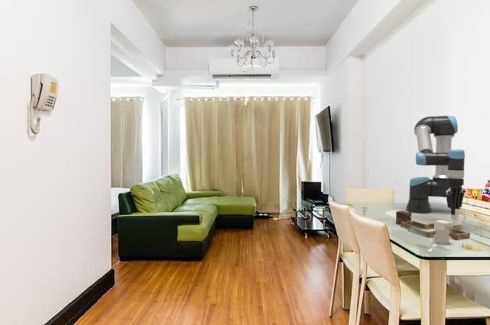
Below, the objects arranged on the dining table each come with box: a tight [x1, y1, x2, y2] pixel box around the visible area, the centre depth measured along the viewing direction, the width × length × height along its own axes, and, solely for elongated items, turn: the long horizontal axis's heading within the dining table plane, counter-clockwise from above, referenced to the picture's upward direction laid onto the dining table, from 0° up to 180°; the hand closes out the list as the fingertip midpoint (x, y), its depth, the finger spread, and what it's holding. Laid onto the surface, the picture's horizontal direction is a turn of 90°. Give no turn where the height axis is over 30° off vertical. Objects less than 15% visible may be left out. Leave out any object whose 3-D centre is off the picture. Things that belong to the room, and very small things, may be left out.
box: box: [395, 210, 413, 225], centre depth 184 cm, size 6×6×7 cm
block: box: [433, 219, 454, 232], centre depth 170 cm, size 6×6×5 cm
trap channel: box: [399, 220, 471, 241], centre depth 168 cm, size 23×28×2 cm
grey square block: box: [433, 229, 453, 245], centre depth 150 cm, size 3×7×7 cm, turn 72°
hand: (454, 220), depth 172 cm, fingers closed
